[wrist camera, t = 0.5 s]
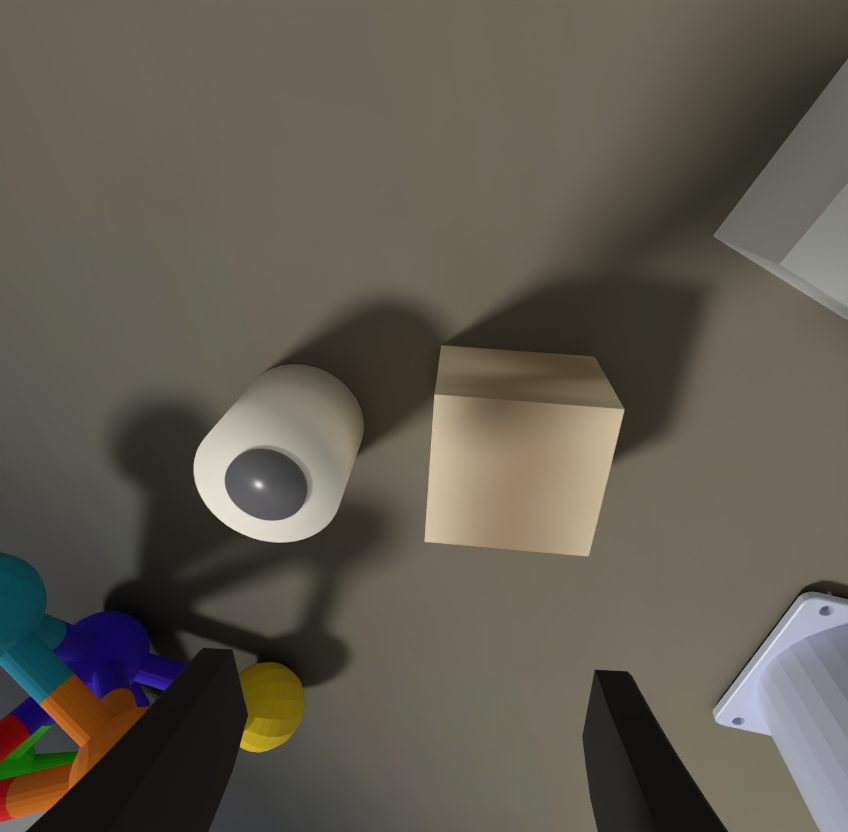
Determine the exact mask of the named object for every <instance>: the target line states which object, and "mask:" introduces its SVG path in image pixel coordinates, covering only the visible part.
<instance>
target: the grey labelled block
mask: <svg viewBox="0 0 848 832" xmlns="http://www.w3.org/2000/svg"><path fill="white" fill-rule="evenodd" d="M713 237H715V238H716V239H718V240H720V241H721V242H723V243H724V244H726V245H728V246H729V247H731V248H732V249H734V250H736V251H737V252H739V253H740V254H742V255H744V256H745V257H747V258H748V259H750V260H752V261H753V262H755V263H757V264H758V265H760V266H761V267H763V268H765V269H766V270H768V271H769V272H771V273H773V274H774V275H776V276H777V277H779V278H781V279H782V280H784V281H785V282H787V283H789V284H790V285H792V286H793V287H795V288H797V289H798V290H800V291H801V292H803V293H805V294H806V295H808V296H809V297H811V298H813V299H814V300H816V301H817V302H819V303H821V304H822V305H824V306H826V307H827V308H829V309H830V310H832V311H834V312H835V313H837V314H838V315H840V316H842V317H843V318H845V319H847V320H848V59H847V60H846V62H845V63H844V64H843V66H842V67H841V68H840V70H839V71H838V72H837V73H836V75H835V76H834V77H833V79H832V80H831V81H830V83H829V84H828V85H827V87H826V88H825V89H824V91H823V92H822V93H821V94H820V96H819V97H818V98H817V100H816V101H815V102H814V104H813V105H812V106H811V108H810V109H809V110H808V112H807V113H806V114H805V116H804V117H803V118H802V119H801V121H800V122H799V123H798V125H797V126H796V127H795V129H794V130H793V131H792V133H791V134H790V135H789V137H788V138H787V139H786V140H785V142H784V143H783V144H782V146H781V147H780V148H779V150H778V151H777V152H776V154H775V155H774V156H773V158H772V159H771V160H770V162H769V163H768V164H767V165H766V167H765V168H764V169H763V171H762V172H761V173H760V175H759V176H758V177H757V179H756V180H755V181H754V183H753V184H752V185H751V186H750V188H749V189H748V190H747V192H746V193H745V194H744V196H743V197H742V198H741V200H740V201H739V202H738V204H737V205H736V206H735V207H734V209H733V210H732V211H731V213H730V214H729V215H728V217H727V218H726V219H725V221H724V222H723V223H722V225H721V226H720V227H719V229H718V230H717V231H716V232H715V234H714V235H713Z"/></svg>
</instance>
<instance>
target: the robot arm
mask: <svg viewBox="0 0 848 832" xmlns="http://www.w3.org/2000/svg"><path fill="white" fill-rule="evenodd" d="M713 715H714V718H715V720H716V722H717V723H719V724H721V725H725V726H729V727H734V728H738V729H743V730H747V731H752V732H757V733H761V734H766V735H770V736H772V737H773V739H774V741H775V743H776V745H777V747H778V749H779V751H780V753H781V755H782V757H783V759H784V761H785V763H786V765H787V767H788V769H789V771H790V773H791V775H792V777H793V779H794V781H795V783H796V785H797V787H798V789H799V791H800V793H801V795H802V797H803V799H804V801H805V803H806V805H807V807H808V809H809V810H810V812H811V814H812V816H813V818H814V820H815V822H816V824H817V826H818V828H819V830H820V832H848V599H844V598H840V597H836V596H831V595H827V594H823V593H818V592H806V593H804V594H802V595H800V596H799V597H798V598H797V600H796V601H795V602H794V604H793V605H792V606H791V607H790V609H789V610H788V611H787V613H786V614H785V615H784V617H783V618H782V619H781V621H780V622H779V623H778V625H777V626H776V627H775V629H774V630H773V631H772V633H771V634H770V635H769V637H768V638H767V639H766V641H765V642H764V643H763V645H762V646H761V647H760V649H759V650H758V651H757V653H756V654H755V655H754V657H753V658H752V659H751V661H750V662H749V663H748V665H747V666H746V667H745V669H744V670H743V671H742V672H741V674H740V675H739V676H738V678H737V679H736V680H735V682H734V683H733V684H732V686H731V687H730V688H729V690H728V691H727V692H726V694H725V695H724V696H723V698H722V699H721V700H720V702H719V703H718V704H717V706H716V707H715V708H714V710H713ZM247 718H248V712H247V708H246V704H245V700H244V696H243V691H242V687H241V683H240V679H239V675H238V671H237V667H236V663H235V658H234V654H233V650H231V649H213V648H203V649H202V650H200V651H199V652H198V653H197V655H196V656H195V657H194V658H193V659H192V660H191V661H190V662H189V664H188V665H187V666H186V667H185V668H184V669H183V670H182V671H181V673H180V674H179V675H178V676H177V677H176V678H175V679H174V680H173V682H172V683H171V684H170V685H169V686H168V687H167V688H166V689H165V690H164V692H163V693H162V694H161V695H160V696H159V697H158V698H157V699H156V700H155V702H154V703H153V704H152V705H151V706H150V707H149V708H148V709H147V710H146V711H145V713H144V714H143V715H142V716H141V717H140V718H139V719H138V720H137V721H136V722H135V723H134V724H133V725H132V726H131V727H130V729H129V730H128V731H127V732H126V733H125V734H124V735H123V736H122V737H121V738H120V739H119V740H118V741H117V742H116V743H115V744H114V746H113V747H112V748H111V749H110V750H109V751H108V752H107V753H106V754H105V755H104V756H103V757H102V758H101V759H100V760H99V761H98V762H97V763H96V764H95V765H94V766H93V767H92V768H91V769H90V770H89V771H88V772H87V773H86V774H85V775H84V776H83V777H82V778H81V779H80V780H79V781H78V782H77V783H76V784H75V785H74V786H73V787H72V788H71V789H70V790H69V791H68V792H67V793H66V794H65V795H64V796H63V797H62V798H61V799H60V800H59V801H58V802H57V803H56V804H55V805H53V806H52V807H51V808H50V809H49V810H48V811H47V812H46V813H45V814H44V815H43V816H42V817H41V818H40V819H39V820H38V821H36V822H35V823H34V824H33V825H32V826H31V827H30V828H29V829H28V830H27V831H26V832H208V831H209V829H210V826H211V824H212V821H213V819H214V816H215V814H216V811H217V809H218V806H219V804H220V801H221V799H222V796H223V794H224V791H225V789H226V786H227V784H228V781H229V778H230V776H231V773H232V771H233V767H234V764H235V760H236V757H237V754H238V750H239V747H240V744H241V740H242V736H243V733H244V729H245V725H246V722H247ZM582 738H583V746H584V754H585V762H586V770H587V777H588V784H589V792H590V798H591V803H592V807H593V812H594V816H595V821H596V825H597V830H598V832H728V831H727V829H726V828H725V826H724V825H723V823H722V822H721V821H720V819H719V818H718V816H717V815H716V813H715V812H714V810H713V809H712V807H711V806H710V804H709V803H708V801H707V800H706V798H705V797H704V795H703V794H702V792H701V791H700V789H699V788H698V786H697V785H696V783H695V781H694V780H693V778H692V777H691V775H690V774H689V772H688V771H687V769H686V768H685V766H684V765H683V763H682V761H681V760H680V758H679V757H678V755H677V753H676V752H675V750H674V748H673V747H672V745H671V744H670V742H669V740H668V739H667V737H666V735H665V734H664V732H663V730H662V729H661V727H660V725H659V724H658V722H657V720H656V718H655V717H654V715H653V713H652V711H651V710H650V708H649V706H648V704H647V703H646V701H645V699H644V697H643V695H642V694H641V692H640V690H639V688H638V686H637V684H636V683H635V681H634V679H633V677H632V676H631V675H630V674H629V673H628V672H626V671H608V670H595V672H594V677H593V683H592V688H591V694H590V699H589V704H588V710H587V715H586V720H585V726H584V731H583V736H582Z"/></svg>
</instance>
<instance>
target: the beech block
mask: <svg viewBox="0 0 848 832" xmlns="http://www.w3.org/2000/svg"><path fill="white" fill-rule="evenodd" d="M624 410H625V409H624V407H623V406H622V404H621V402H620V400H619V399H618V397H617V395H616V393H615V391H614V390H613V388H612V386H611V384H610V383H609V381H608V379H607V377H606V376H605V374H604V372H603V370H602V368H601V367H600V365H599V363H598V361H597V360H596V358H595V357H593V356H580V355H566V354H553V353H539V352H526V351H512V350H499V349H485V348H472V347H458V346H445V345H441V350H440V357H439V365H438V373H437V380H436V388H435V396H434V411H433V426H432V440H431V455H430V470H429V485H428V499H427V514H426V529H425V542H433V543H445V544H456V545H467V546H478V547H489V548H500V549H512V550H523V551H534V552H545V553H556V554H568V555H579V556H589V553H590V549H591V544H592V540H593V536H594V532H595V528H596V524H597V520H598V516H599V512H600V508H601V504H602V500H603V496H604V491H605V487H606V483H607V479H608V475H609V471H610V467H611V463H612V459H613V455H614V451H615V447H616V443H617V438H618V434H619V430H620V426H621V422H622V418H623V414H624Z"/></svg>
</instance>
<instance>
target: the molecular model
mask: <svg viewBox="0 0 848 832" xmlns="http://www.w3.org/2000/svg"><path fill="white" fill-rule="evenodd" d="M46 605H47V596H46V590H45V587H44V584H43V581H42V578H41V577H40V575H39V574H38V573H37V571H36V570H35V569H34V568H33V567H32V566H31V565H30V564H28V563H27V562H26V561H24V560H22V559H20V558H18V557H16V556H13V555H9V554H5V553H1V552H0V665H1V666H2V667H3V668H4V669H5V670H6V671H7V672H8V673H9V674H10V675H11V676H12V677H13V678H14V679H15V680H16V681H17V683H18V684H19V685H20V686H21V687H22V688H23V689H24V690H25V691H26V692H27V693H28V694H29V695H30V697H29V698H28V699H26V700H25V701H24V702H23V703H22V704H20V705H19V706H18V707H17V708H15V709H14V710H13V711H12V712H10V713H9V714H8V715H7V716H6V717H4V718H3V719H2V720H1V721H0V822H3V821H7V820H11V819H15V818H19V817H23V816H27V815H30V814H35V813H39V812H42V811H46V810H49V809H50V808H51V807H52V806H53V805H55V804H56V803H57V802H58V801H59V800H60V799H61V798H62V797H63V796H64V795H65V794H66V793H67V792H68V791H69V790H70V789H71V788H72V787H73V786H74V785H75V784H76V783H77V782H78V781H79V780H80V779H81V778H82V777H83V776H84V775H85V774H86V773H87V772H88V771H89V770H90V769H91V768H92V767H93V766H94V765H95V764H96V763H97V762H98V761H99V760H100V759H101V758H102V757H103V756H104V755H105V754H106V753H107V752H108V751H109V750H110V749H111V748H112V747H113V746H114V744H115V743H116V742H117V741H118V740H119V739H120V738H121V737H122V736H123V735H124V734H125V733H126V732H127V731H128V730H129V729H130V727H131V726H132V725H133V724H134V723H135V722H136V721H137V720H138V719H139V718H140V717H141V716H142V715H143V714H144V713H145V711H146V710H147V709H148V708H149V707H150V706H151V704H150V702H149V700H148V698H147V697H146V695H145V693H144V691H143V690H142V688H141V686H140V684H139V683H142V684H145V685H149V686H152V687H155V688H158V689H161V690H165V689H166V688H167V687H168V686H169V685H170V684H171V683H172V682H173V680H174V679H175V678H176V677H177V676H178V675H179V674H180V673H181V671H182V670H183V669H184V668H185V667H186V666H187V665H186V664H183V663H179V662H176V661H173V660H170V659H167V658H164V657H161V656H158V655H154V654H151V653H149V648H150V644H149V638H148V634H147V632H146V631H145V629H144V628H143V626H142V625H141V623H140V622H139V621H138V620H137V619H136V618H134V617H133V616H131V615H129V614H127V613H124V612H119V611H104V612H100V613H96V614H93V615H91V616H89V617H86V618H84V619H82V620H80V621H79V622H77V623H76V624H75V625H72V624H69V623H67V622H64V621H62V620H60V619H57V618H55V617H52V616H50V615H48V614H45V610H46ZM239 679H240V683H241V687H242V691H243V696H244V700H245V704H246V708H247V712H248V718H247V722H246V725H245V729H244V733H243V736H242V740H241V744H240V747H241V748H243V749H245V750H248V751H250V752H263V751H267V750H270V749H272V748H275V747H277V746H279V745H281V744H283V743H284V742H285V741H287V740H288V739H289V738H290V737H291V735H292V734H293V733H294V731H295V730H296V728H297V727H298V725H299V724H300V721H301V718H302V715H303V712H304V704H305V700H304V690H303V687H302V684H301V682H300V680H299V678H298V677H297V676H296V675H295V674H294V673H293V672H292V671H291V670H290V669H289V668H288V667H286V666H284V665H282V664H281V663H276V662H266V663H258V664H254V665H252V666H249V667H247V668H246V669H244V670H243V671H241V673H240V674H239ZM138 682H139V683H138ZM55 722H57V723H58V724H59V725H60V726H61V727H62V728H63V729H64V730H65V731H66V733H67V734H68V735H69V736H70V737H71V738H72V739H73V740H74V741H75V742H76V743H77V744H78V745H79V746H80V749H79V751H78V752H64V753H49V754H35V750H34V747H33V744H34V743H35V742H36V741H37V740H38V739H39V738H40V737H41V736H42V735H43V734H44V733H45V732H46V731H47V730H48V729H49V728H50V727H51V726H52V725H53V724H54V723H55Z"/></svg>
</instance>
